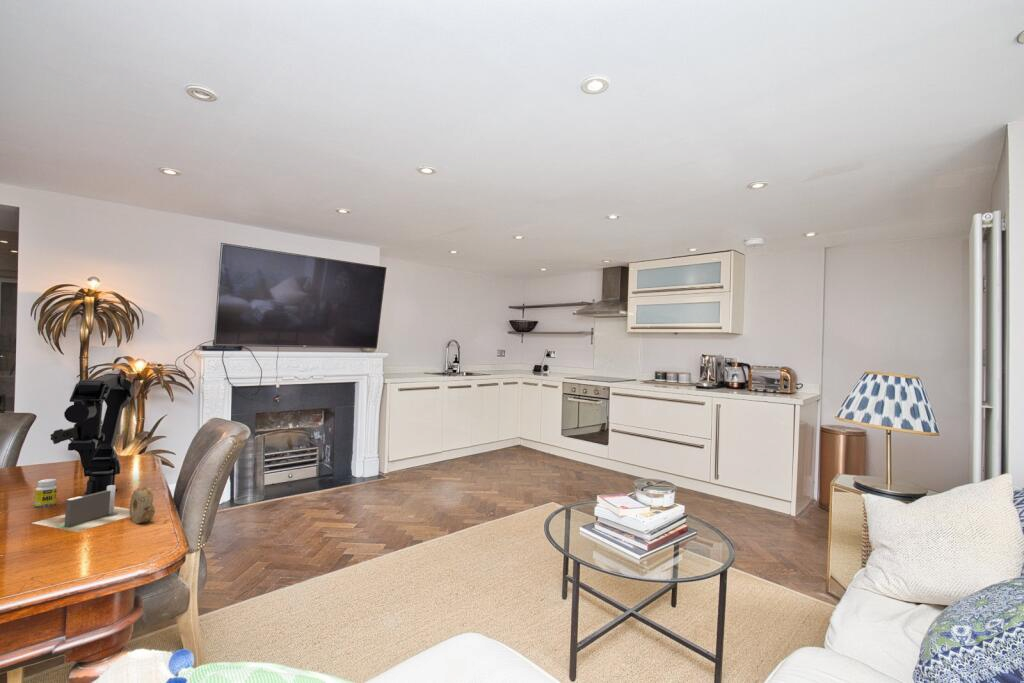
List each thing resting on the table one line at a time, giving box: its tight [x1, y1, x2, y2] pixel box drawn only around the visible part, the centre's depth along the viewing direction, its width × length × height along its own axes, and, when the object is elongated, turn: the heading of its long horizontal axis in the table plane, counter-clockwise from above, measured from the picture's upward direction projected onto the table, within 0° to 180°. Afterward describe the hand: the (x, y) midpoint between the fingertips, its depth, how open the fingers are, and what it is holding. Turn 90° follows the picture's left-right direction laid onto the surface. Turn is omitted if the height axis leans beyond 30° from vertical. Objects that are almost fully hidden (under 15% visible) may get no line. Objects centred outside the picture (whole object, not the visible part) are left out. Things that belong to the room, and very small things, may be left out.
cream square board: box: [32, 506, 131, 533], centre depth 135 cm, size 18×18×1 cm
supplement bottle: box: [33, 478, 58, 509], centre depth 142 cm, size 5×5×8 cm
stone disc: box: [128, 486, 156, 524], centre depth 134 cm, size 10×4×10 cm, turn 57°
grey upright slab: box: [64, 484, 117, 527], centre depth 132 cm, size 12×2×8 cm, turn 168°
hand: (85, 467), depth 146 cm, fingers closed
